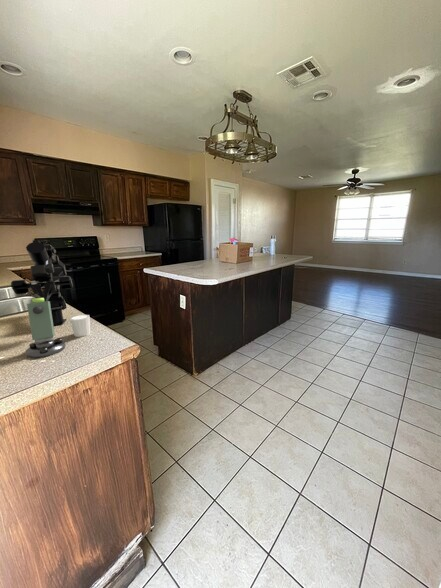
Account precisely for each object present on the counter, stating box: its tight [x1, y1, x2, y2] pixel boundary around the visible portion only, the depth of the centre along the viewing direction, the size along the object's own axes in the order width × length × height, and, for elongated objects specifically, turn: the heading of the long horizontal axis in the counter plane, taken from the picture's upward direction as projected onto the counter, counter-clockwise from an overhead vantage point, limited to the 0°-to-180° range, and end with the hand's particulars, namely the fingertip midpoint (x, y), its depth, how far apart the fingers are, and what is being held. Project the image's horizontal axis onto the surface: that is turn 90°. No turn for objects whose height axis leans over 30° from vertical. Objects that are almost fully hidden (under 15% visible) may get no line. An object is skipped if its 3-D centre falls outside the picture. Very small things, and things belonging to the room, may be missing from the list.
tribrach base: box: [25, 337, 66, 359], centre depth 84 cm, size 11×11×3 cm
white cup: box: [69, 314, 91, 338], centre depth 96 cm, size 7×7×7 cm
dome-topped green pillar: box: [26, 297, 56, 344], centre depth 82 cm, size 6×6×15 cm
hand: (44, 303), depth 91 cm, fingers closed
